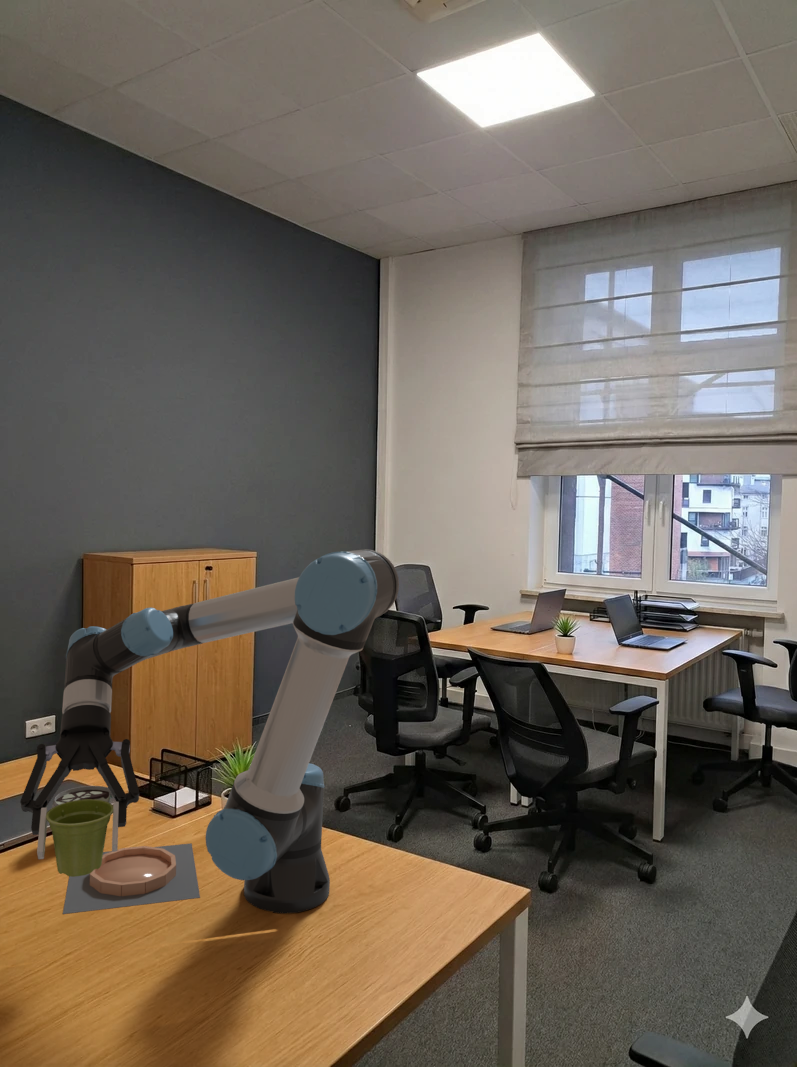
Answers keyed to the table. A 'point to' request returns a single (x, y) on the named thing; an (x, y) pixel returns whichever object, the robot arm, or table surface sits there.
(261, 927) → the table surface
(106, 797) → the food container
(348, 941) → the table surface
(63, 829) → the plant pot
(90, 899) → the desk mat
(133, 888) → the saucer
